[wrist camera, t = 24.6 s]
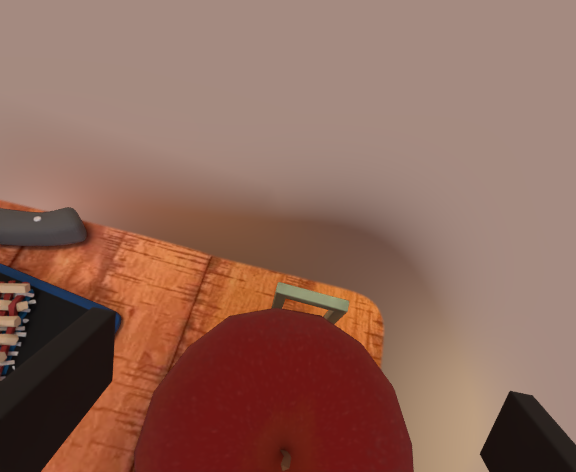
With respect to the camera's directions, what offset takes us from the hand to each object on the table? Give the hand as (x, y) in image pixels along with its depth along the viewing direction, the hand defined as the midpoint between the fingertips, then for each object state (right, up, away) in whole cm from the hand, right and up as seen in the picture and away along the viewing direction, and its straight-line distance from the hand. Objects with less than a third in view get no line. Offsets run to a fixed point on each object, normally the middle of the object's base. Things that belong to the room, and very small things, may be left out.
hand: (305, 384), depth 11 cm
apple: (-2, -8, +11) cm, 14 cm away
